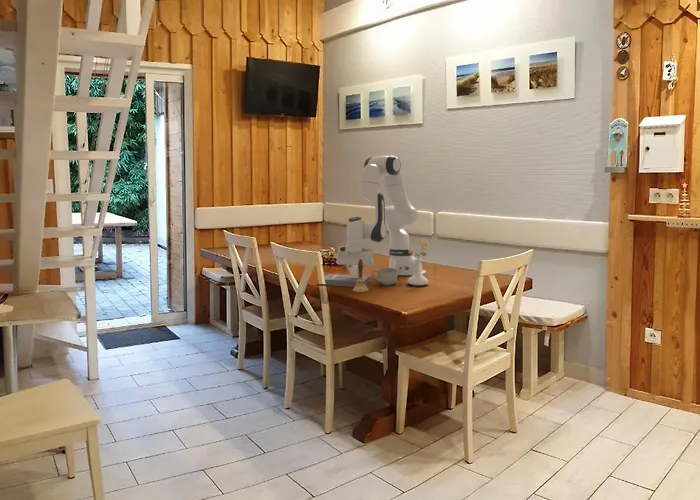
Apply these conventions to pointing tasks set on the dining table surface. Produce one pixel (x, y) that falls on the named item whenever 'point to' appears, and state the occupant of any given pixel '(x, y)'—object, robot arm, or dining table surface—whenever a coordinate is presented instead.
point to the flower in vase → (418, 277)
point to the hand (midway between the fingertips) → (355, 273)
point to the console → (343, 280)
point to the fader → (354, 272)
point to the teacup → (386, 275)
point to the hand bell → (360, 280)
